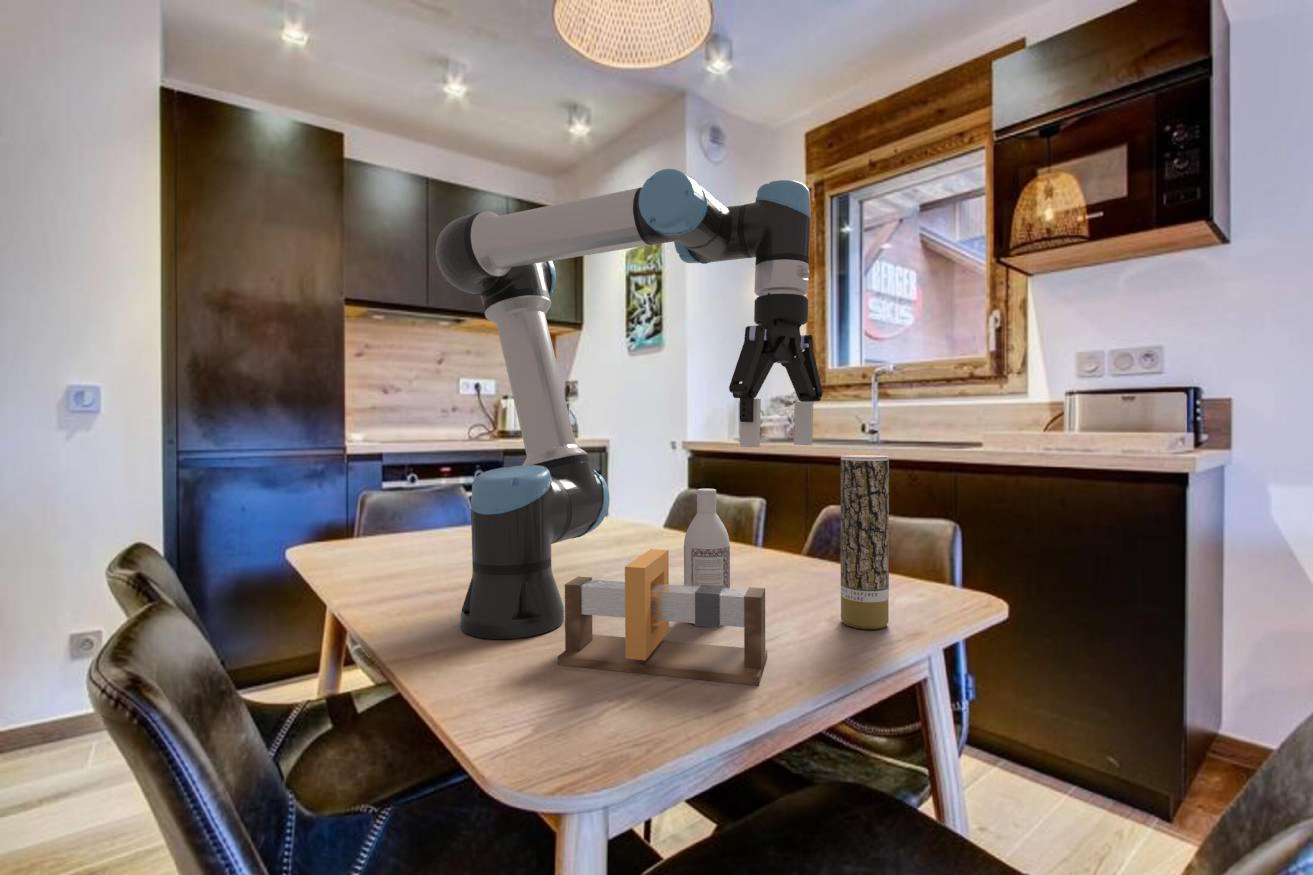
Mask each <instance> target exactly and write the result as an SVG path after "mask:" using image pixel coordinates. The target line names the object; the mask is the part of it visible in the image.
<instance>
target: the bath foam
mask: <svg viewBox="0 0 1313 875" xmlns="http://www.w3.org/2000/svg"><path fill="white" fill-rule="evenodd" d="M683 580H684V581H683V585H684V586H699V587H700V586H701V585H715V586H725V588H731V546H730V536H729V534H728V530H727V528H726V527H725V524H724V522H723V521H722V519H720V517H719V515H718V513H717V489H715V488H698V489H696V514H695V515H694V516H693V519H692V520H691V523H690V524H689V526H688V527H687V530H686V532H685V536H684V541H683ZM690 624H692V625H694V626H695V623H690Z"/></svg>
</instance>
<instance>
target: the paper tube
mask: <svg viewBox="0 0 1313 875" xmlns="http://www.w3.org/2000/svg"><path fill="white" fill-rule="evenodd" d="M889 466H890V460H889V455H878V454H877V455H873V454H871V455H870V454H858V455H857V454H856V455H855V454H852V455H850V454H847V455H841V457H840V620H841V621H842V623H843V624H844V625H846V626H849V627H851V628H854V629H860V630H869V631H870V630H881V629H883V628H885V627H886V626H887V625H888V624H889V616H890V615H889V612H890V611H889V604H890V603H889V602H890V601H889V599H890V593H889V592H890V591H889V590H890V582H889V581H890V578H889V577H890V574H889V573H890V571H889V570H890V569H889V568H890V562H889V561H890V560H889V558H890V551H889V550H890V548H889V547H890V538H889V537H890V520H889V519H890V518H889V517H890V467H889Z"/></svg>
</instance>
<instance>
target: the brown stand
mask: <svg viewBox="0 0 1313 875" xmlns="http://www.w3.org/2000/svg"><path fill="white" fill-rule="evenodd" d="M589 580H593V577H591V576H576V577H574V578H573V579H571V580H570V581H567V583H565V584H564V635H565V637H564V639H565V642H564V646H565V647H564V648H565V650H564V651H563V652H561V653H560V654H559V655H558V656H557V665H560V666H569V667H578V668H587V669H596V670H597V669H598V670H606V671H607V670H609V671H615V672H616V671H617V672H626V673H635V674H636V673H637V674H644V675H645V674H646V675H654V676H664V677H675V678H685V679H693V680H694V679H695V680H705V681H713V682H714V681H715V682H723V683H733V684H744V685H752V686H760V685H761V684H760V683H761V680H762V678H763V674H764V670H765V667H766V664H767V661H768V660H767V659H768V649H766V588H764V587H751V586H749V587H748V589H746V590H747V592H746V594H745V596H744V627H743V628H744V630H743V632H744V634H743V636H744V637H743V638H744V641H743V643H744V646H743V647H741V646H740V647H739V646H737V647H736V646H727V645H716V644H705V643H692V642H684V641H683V642H682V641H671V640H662V641H661V642H660V643H659V644H658V645H657V647H656V648H655V649H654V650H653V652H652V653H651V654H650V655H649V657H648V658H647V659H646V660H637V659H627V658H626V657H625V637H624V636H614V635H606V634H605V635H602V634H593V615H585V614H581V590H580V586H582V585H583V584H585V583H586V582H588V581H589Z"/></svg>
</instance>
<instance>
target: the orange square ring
mask: <svg viewBox="0 0 1313 875" xmlns="http://www.w3.org/2000/svg"><path fill="white" fill-rule="evenodd" d="M669 552H670V551H669V549H653V548H650V549H649V550H647V551H646V552H645V553H643V554H642V555H640V556H639V557H637V558H635V559H634V560H632V561H631V562H630V563H628V564H626V566H624V582H625V618H624V626H625V627H624V629H625V632H624V633H625V635H624V636H625V657H626V658H627V659H637V660H646V659H647V658H648V657H649V655H650V654H651V653H652V652H653V650H654V649H655V648H656V647H657V645H658V644H659V643H660V642H661V641H663V639H664V638H665V637H666V635H668V633H669V632H670V621H660V620H651V584H650V583H652V584H668V585H670V582H669V581H670V580H669V579H670V577H669V575H670V573H669V572H670V571H669V570H670V568H669V565H670V564H669V559H670V558H669V556H670V555H669Z"/></svg>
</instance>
